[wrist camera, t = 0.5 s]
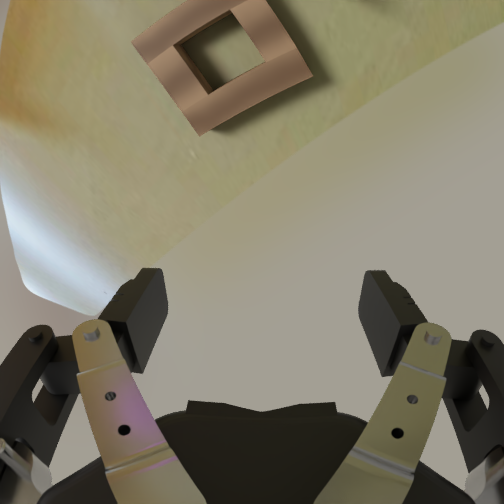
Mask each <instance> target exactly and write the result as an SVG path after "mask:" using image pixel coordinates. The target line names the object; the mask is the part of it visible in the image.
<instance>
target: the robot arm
mask: <svg viewBox="0 0 504 504" xmlns="http://www.w3.org/2000/svg"><path fill="white" fill-rule="evenodd" d="M358 311H359V318H360V321H361V324H362V326H363V329H364V331H365V334H366V336H367V339H368V341H369V344H370V346H371V349H372V351H373V354H374V357H375V359H376V362H377V365H378V367H379V370H380V373H381V375H382V377H385V376H393V377H392V380H391V381H390V384H389V385H388V388H387V389H386V391H385V393H384V395H383V397H382V399H381V401H380V403H379V404H378V406H377V408H376V410H375V412H374V413H373V415H372V417H371V419H370V420H369V422H366V421H364V420H362V419H360V418H358V417H355V416H352V415H349V414H345V413H339V412H337V409H336V405H335V402H328V403H309V404H298V405H293V406H289V407H284V408H280V409H275V410H271V411H265V412H259V411H254V410H250V409H246V408H241V407H237V406H233V405H229V404H226V403H215V402H201V401H190V400H188V404H187V409H186V411H179V412H174V413H170V414H167V415H164V416H162V417H160V418H157V419H155V420H154V418H153V417H152V415H151V413H150V411H149V409H148V407H147V405H146V403H145V401H144V399H143V397H142V395H141V393H140V391H139V389H138V387H137V385H136V383H135V381H134V379H133V377H132V375H131V373H132V372H134V373H141V374H142V373H143V372H144V369H145V367H146V364H147V362H148V359H149V357H150V355H151V352H152V350H153V348H154V345H155V343H156V340H157V338H158V336H159V333H160V331H161V329H162V326H163V324H164V322H165V319H166V317H167V314H168V300H167V294H166V288H165V283H164V276H163V272H162V269H160V268H142V269H141V270H140V272H139V273H138V275H137V276H136V277H135V279H134V280H132V279H131V280H129V281H128V282H126V283H125V284H123V285H122V286H121V287H120V288H119V290H118V291H117V292H116V295H114V296H113V298H112V299H111V301H110V302H109V303H108V305H107V306H106V308H105V309H104V310H103V312H102V313H101V315H100V316H99V318H98V319H94V320H89V321H86V322H84V323H82V324H80V325H79V326H78V327H77V328H76V329H75V330H74V331H73V334H72V335H70V336H59V337H55V335H54V333H53V330H52V328H51V327H50V326H47V325H37V326H34V327H32V328H30V329H28V330H27V331H26V332H25V333H24V334H23V335H22V336H21V338H20V339H19V340H18V342H17V343H16V344H15V346H14V347H13V348H12V350H11V351H10V353H9V354H8V355H7V357H6V358H5V359H4V361H3V363H2V364H1V365H0V504H504V344H503V343H502V342H501V340H500V339H499V338H498V337H497V336H496V335H495V334H493V333H491V332H489V331H486V330H476V331H475V332H473V333H472V335H471V337H470V340H469V341H461V340H453V339H451V336H450V334H449V332H448V331H447V330H446V329H445V328H443V327H442V326H439V325H437V324H434V323H428V321H427V319H426V318H425V316H424V315H423V313H422V312H421V310H420V309H419V308H418V306H417V305H416V304H415V302H414V300H413V299H412V298H411V296H410V294H409V293H408V292H407V290H406V289H405V288H404V287H402V286H401V285H400V284H398V283H397V282H393V281H392V280H391V278H390V277H389V275H388V274H387V273H386V271H385V270H381V271H380V270H377V271H376V270H374V271H371V270H369V271H366V273H365V275H364V281H363V285H362V291H361V296H360V301H359V308H358ZM39 378H40V379H41V381H42V383H43V384H44V385H43V386H42V388H41V390H40V392H39V394H38V396H37V398H36V399H35V401H34V403H33V401H32V391H33V389H34V387H35V385H36V384H37V382H38V380H39ZM482 385H483V386H484V388H485V390H486V392H487V394H488V396H489V408H488V410H487V408H486V406H485V404H484V402H483V399H482V397H481V395H480V393H479V389H480V388H481V386H482ZM79 393H81V396H82V399H83V403H84V407H85V410H86V413H87V416H88V420H89V423H90V426H91V429H92V432H93V435H94V438H95V441H96V444H97V447H98V449H99V452H100V455H101V456H100V457H99V458H97V459H96V460H94V461H93V462H91V463H89V464H88V465H86V466H85V467H83V468H82V469H80V470H78V471H77V472H75V473H74V474H72V475H70V476H69V477H67V478H65V479H64V480H62V481H60V482H59V483H57V484H55V485H52V484H51V482H52V477H51V472H50V470H49V465H50V462H51V460H52V457H53V454H54V452H55V449H56V447H57V444H58V442H59V439H60V436H61V434H62V431H63V429H64V427H65V424H66V422H67V419H68V417H69V415H70V412H71V410H72V408H73V406H74V403H75V401H76V399H77V396H78V394H79ZM441 398H443V400H444V403H445V405H446V408H447V410H448V413H449V415H450V418H451V421H452V424H453V426H454V429H455V432H456V435H457V438H458V441H459V444H460V447H461V450H462V453H463V456H464V459H465V463H466V466H467V469H468V473H469V475H468V477H467V479H466V483H465V490H464V491H463V490H461V489H460V488H458V487H457V486H455V485H454V484H452V483H451V482H449V481H448V480H446V479H445V478H444V477H442V476H440V475H439V474H438V473H436V472H435V471H433V470H432V469H431V468H429V467H428V466H426V465H425V464H424V463H422V462H421V461H419V459H420V457H421V454H422V452H423V449H424V447H425V445H426V442H427V439H428V437H429V434H430V431H431V428H432V426H433V423H434V420H435V417H436V414H437V411H438V407H439V404H440V401H441Z"/></svg>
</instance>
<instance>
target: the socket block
mask: <svg viewBox="0 0 504 504" xmlns="http://www.w3.org/2000/svg"><path fill="white" fill-rule="evenodd" d="M232 13H233V14H234V16H235V17H236V18H237V20H238V21H239V23H240V24H241V26H242V27H243V28H244V30H245V31H246V33H247V34H248V36H249V37H250V39H251V40H252V42H253V43H254V45H255V46H256V48H257V49H258V51H259V52H260V54H261V55H262V57H263V58H264V60H265V61H266V62H264V63H262V64H260V65H258V66H256V67H254V68H252V69H251V70H249V71H247V72H245V73H243V74H241V75H240V76H238V77H236V78H234V79H233V80H231V81H229V82H227V83H226V84H224V85H222V86H220V87H219V88H217V89H215V90H214V91H213V89H212V88H211V86H210V85H209V83H208V82H207V81H206V79H205V78H204V76H203V75H202V73H201V72H200V71H199V69H198V68H197V66H196V65H195V64H194V62H193V61H192V59H191V58H190V57H189V55H188V54H187V52H186V51H185V50H184V48H183V47H182V46H181V44H183V43H184V42H186V41H187V40H189V39H190V38H192V37H193V36H195V35H196V34H198V33H199V32H201V31H203V30H204V29H206V28H207V27H209V26H211V25H212V24H214V23H216V22H218V21H219V20H221V19H223V18H225V17H226V16H228V15H230V14H232ZM131 43H132V44H133V46H134V47H135V48H136V50H137V51H138V52H139V54H140V55H141V56H142V58H143V59H144V61H145V62H146V63H147V65H148V66H149V67H150V69H151V70H152V71H153V73H154V74H155V75H156V77H157V78H158V80H159V81H160V82H161V84H162V85H163V86H164V88H165V89H166V91H167V92H168V93H169V95H170V96H171V97H172V99H173V100H174V102H175V103H176V104H177V106H178V107H179V109H180V110H181V111H182V113H183V114H184V115H185V117H186V118H187V120H188V121H189V122H190V124H191V125H192V127H193V128H194V129H195V131H196V132H197V134H198V135H199V136H201V135H203V134H204V133H206V132H208V131H209V130H211V129H213V128H214V127H216V126H218V125H219V124H221V123H223V122H225V121H226V120H228V119H230V118H232V117H233V116H235V115H237V114H239V113H241V112H242V111H244V110H246V109H248V108H250V107H252V106H254V105H255V104H257V103H259V102H261V101H263V100H265V99H267V98H269V97H271V96H273V95H275V94H277V93H279V92H281V91H283V90H285V89H287V88H289V87H291V86H293V85H296V84H298V83H300V82H302V81H304V80H306V79H309V78H311V77H313V75H312V73H311V71H310V69H309V68H308V66H307V64H306V63H305V61H304V59H303V57H302V56H301V54H300V52H299V51H298V49H297V47H296V46H295V44H294V42H293V41H292V39H291V38H290V36H289V34H288V33H287V31H286V30H285V28H284V27H283V25H282V24H281V22H280V21H279V19H278V18H277V16H276V15H275V13H274V12H273V10H272V9H271V7H270V6H269V4H268V3H267V2H266V0H187V1H186V2H184V3H183V4H181V5H180V6H178V7H177V8H175V9H174V10H172V11H171V12H169V13H168V14H166V15H165V16H164V17H162V18H161V19H159V20H158V21H157V22H155V23H154V24H153V25H151V26H150V27H149V28H147V29H146V30H145V31H144V32H142V33H141V34H140V35H139V36H137V37H136V38H135V39H134V40H132V41H131Z"/></svg>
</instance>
